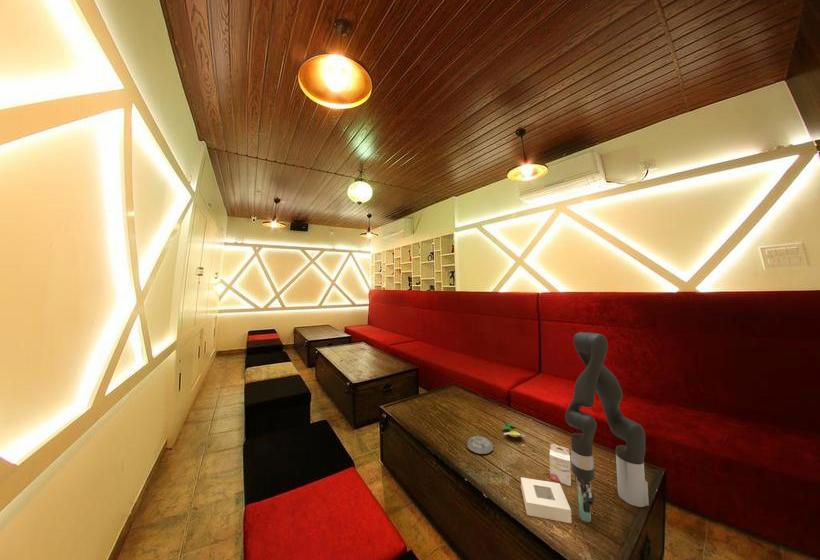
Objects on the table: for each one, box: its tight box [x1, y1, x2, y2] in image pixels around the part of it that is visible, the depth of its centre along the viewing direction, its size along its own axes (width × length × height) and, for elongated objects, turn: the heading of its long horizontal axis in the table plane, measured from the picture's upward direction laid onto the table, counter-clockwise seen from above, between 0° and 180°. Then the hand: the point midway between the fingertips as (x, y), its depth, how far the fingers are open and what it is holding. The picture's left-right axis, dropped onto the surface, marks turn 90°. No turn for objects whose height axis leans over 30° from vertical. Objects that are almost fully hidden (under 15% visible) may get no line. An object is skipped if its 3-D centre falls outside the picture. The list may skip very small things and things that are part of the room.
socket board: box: [520, 476, 572, 524], centre depth 107 cm, size 16×14×5 cm
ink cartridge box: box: [549, 443, 572, 487], centre depth 121 cm, size 9×5×15 cm, turn 58°
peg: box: [577, 484, 592, 523], centre depth 101 cm, size 4×4×12 cm
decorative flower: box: [502, 418, 527, 439], centre depth 162 cm, size 13×5×30 cm
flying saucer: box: [466, 435, 494, 455], centre depth 147 cm, size 15×15×6 cm
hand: (584, 506), depth 101 cm, fingers closed on peg, 4 cm apart
